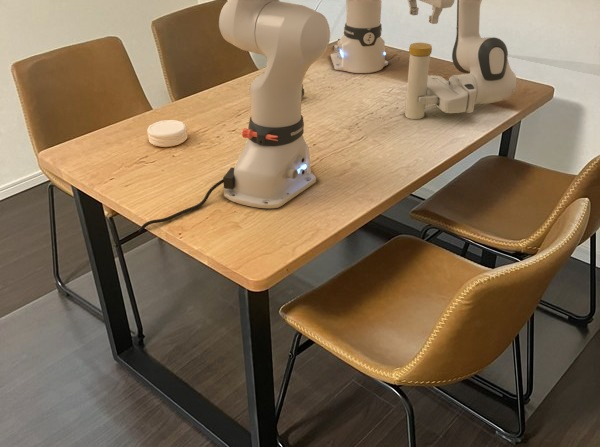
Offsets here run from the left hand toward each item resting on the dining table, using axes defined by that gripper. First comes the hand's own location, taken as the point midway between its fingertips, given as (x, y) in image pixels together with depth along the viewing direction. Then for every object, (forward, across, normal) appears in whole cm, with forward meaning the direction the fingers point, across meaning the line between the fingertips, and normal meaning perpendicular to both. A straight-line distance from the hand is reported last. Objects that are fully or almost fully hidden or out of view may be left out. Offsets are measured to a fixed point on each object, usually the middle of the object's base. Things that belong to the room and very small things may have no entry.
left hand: (423, 18), depth 159 cm
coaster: (+26, -12, -67) cm, 73 cm away
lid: (+7, 0, 0) cm, 7 cm away
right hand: (+21, 0, -1) cm, 21 cm away
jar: (+26, 0, 0) cm, 26 cm away
